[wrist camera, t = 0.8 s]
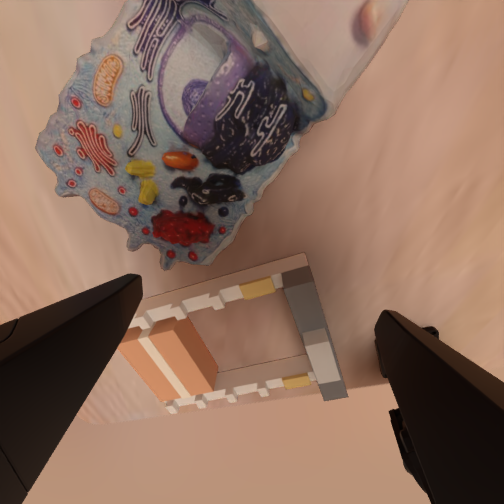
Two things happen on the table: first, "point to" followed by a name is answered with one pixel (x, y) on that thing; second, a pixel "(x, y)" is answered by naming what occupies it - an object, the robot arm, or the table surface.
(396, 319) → the robot arm
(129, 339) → the block
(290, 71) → the cell model
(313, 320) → the comb channel
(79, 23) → the table surface
